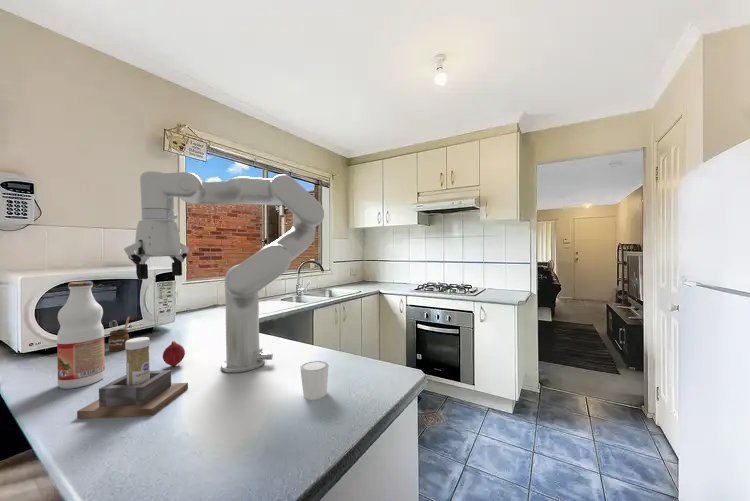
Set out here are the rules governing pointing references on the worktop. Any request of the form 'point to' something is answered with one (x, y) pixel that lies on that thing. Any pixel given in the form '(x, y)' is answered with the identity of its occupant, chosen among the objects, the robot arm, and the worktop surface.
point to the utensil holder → (118, 338)
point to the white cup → (314, 379)
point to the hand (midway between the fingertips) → (160, 277)
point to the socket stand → (134, 397)
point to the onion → (173, 354)
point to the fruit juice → (80, 338)
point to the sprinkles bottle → (137, 360)
